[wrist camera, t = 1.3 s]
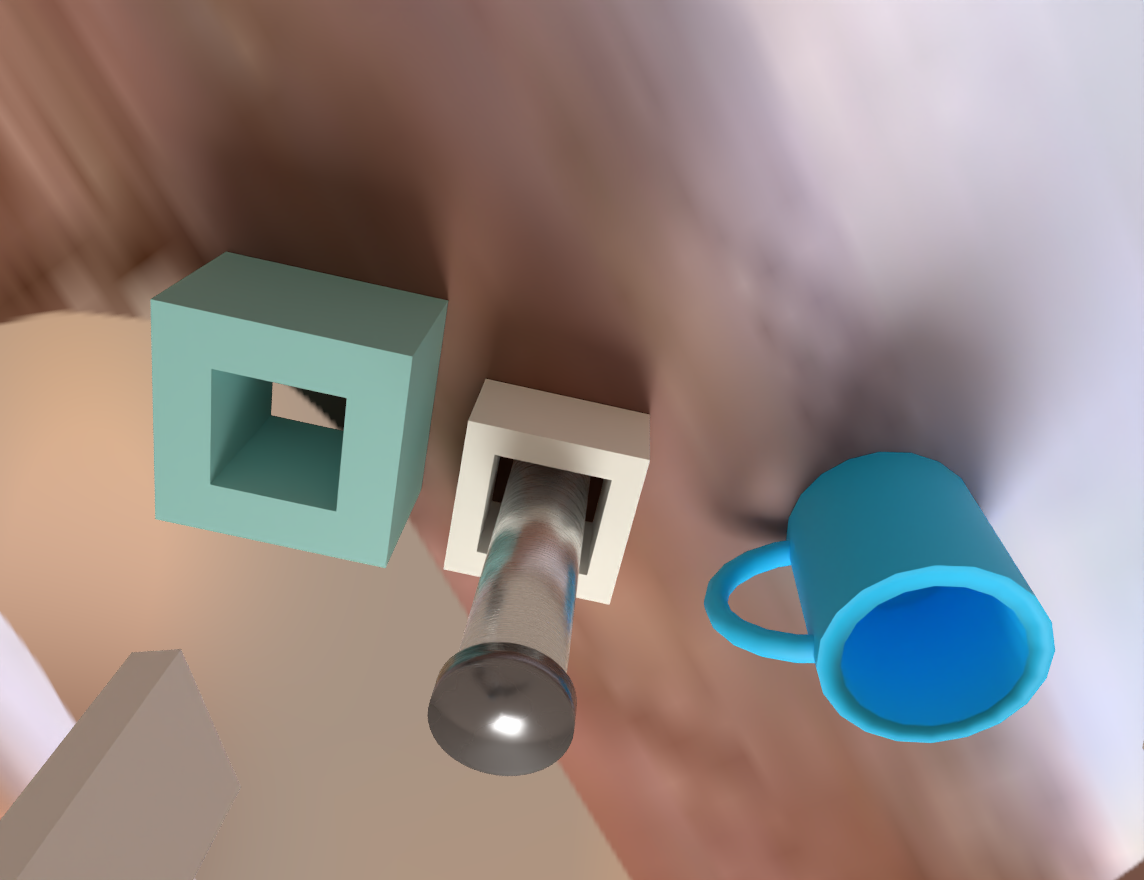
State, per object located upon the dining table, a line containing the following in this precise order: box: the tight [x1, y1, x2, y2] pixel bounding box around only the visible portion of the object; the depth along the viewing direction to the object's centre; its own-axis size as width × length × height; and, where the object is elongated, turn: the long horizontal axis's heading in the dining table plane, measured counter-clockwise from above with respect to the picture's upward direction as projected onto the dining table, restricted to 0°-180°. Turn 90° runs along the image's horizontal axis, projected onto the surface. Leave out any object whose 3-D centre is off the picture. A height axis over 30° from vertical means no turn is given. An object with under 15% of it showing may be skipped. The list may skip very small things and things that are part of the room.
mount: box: [444, 379, 650, 604], centre depth 37 cm, size 7×7×4 cm
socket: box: [151, 252, 448, 568], centre depth 35 cm, size 9×9×6 cm
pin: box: [428, 459, 591, 776], centre depth 32 cm, size 4×4×15 cm
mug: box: [704, 452, 1055, 743], centre depth 35 cm, size 12×8×8 cm
